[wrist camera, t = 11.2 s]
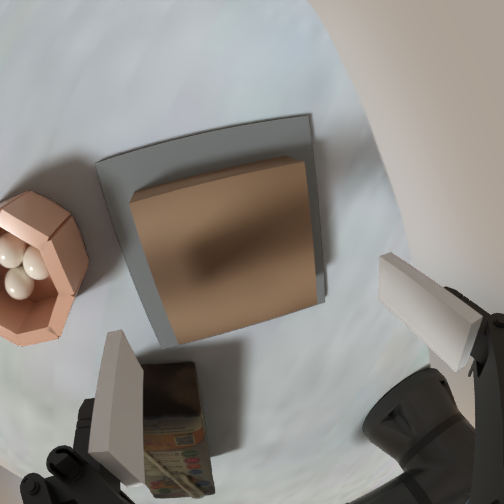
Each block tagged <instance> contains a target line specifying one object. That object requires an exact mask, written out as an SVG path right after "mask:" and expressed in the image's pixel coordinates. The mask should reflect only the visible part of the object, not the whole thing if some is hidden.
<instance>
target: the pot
mask: <svg viewBox="0 0 504 504" xmlns="http://www.w3.org/2000/svg"><path fill="white" fill-rule="evenodd" d="M70 214H71V213H70V212H68V211H66V210H65V209H64V208H62V207H61V206H60V205H59V204H57V203H56V202H54V201H53V200H51V199H49V198H47V197H44V196H41V195H38V194H36V193H34V192H33V191H30V192H29V190H28V191H26V192H24V193H21V194H19V195H17V196H14V197H12V198H10V199H8V200H6V201H4V202H1V203H0V336H2V337H3V338H5V339H7V340H9V341H10V342H12V343H14V344H16V345H18V346H19V344H20V345H21V347H22V346H27V345H31V344H36V343H41V342H46V341H50V340H55V339H59V337H61V334H62V331H63V329H64V326H65V323H66V321H67V318H68V315H69V313H70V310H71V308H72V305H73V303H74V300H75V298H76V295H77V293H78V290H79V288H80V285H81V283H82V281H83V278H84V276H85V273H86V271H87V269H88V266H89V264H88V263H89V259H88V256H87V254H86V249H85V244H84V241H83V237H82V235H81V233H80V230H79V228H78V226H77V225H76V223H75V221H74V218H73V216H70Z"/></svg>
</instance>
